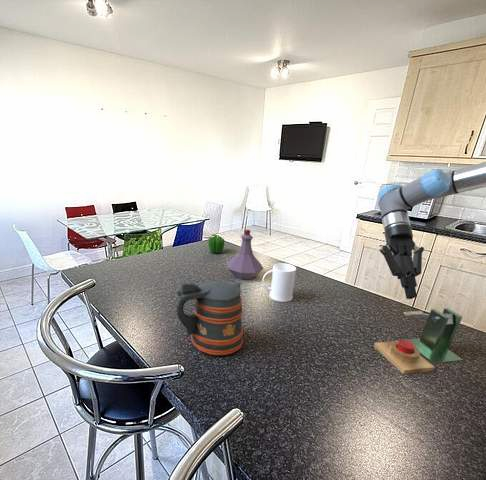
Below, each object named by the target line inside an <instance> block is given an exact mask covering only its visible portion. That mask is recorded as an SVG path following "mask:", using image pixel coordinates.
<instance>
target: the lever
mask: <svg viewBox="0 0 486 480" xmlns="http://www.w3.org/2000/svg"><path fill="white" fill-rule="evenodd" d="M441 313H442V314H444V313H443V312H441ZM429 314H430V313H424V312H423V311H422V310H415V311H402V312H401V317H403V318H409V317H417V318H422V319H424V318H425V319H428V317H429ZM444 315H445V316H447V317H449V319H448V322H447V324H453V315H452V314H444Z"/></svg>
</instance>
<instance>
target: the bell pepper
mask: <svg viewBox="0 0 486 480" xmlns="http://www.w3.org/2000/svg"><path fill="white" fill-rule="evenodd" d="M211 236H212V237H209V238H208V241H207V243H208V248H209V252H210V253H211V254H222V252H223V251H224V247H225V239H224V238H223V237H222V236H218V235H217V234H215V233H212V234H211Z"/></svg>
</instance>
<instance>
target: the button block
mask: <svg viewBox="0 0 486 480" xmlns="http://www.w3.org/2000/svg"><path fill="white" fill-rule="evenodd" d="M399 341H400V340H391V341H379V342H378V341H377V342H374V344H373V347H374V348H375V349H376V350H377V351H378V352H379V353H380V354H381V355H382V356H383V357H384V358H385V359H386V360H388V361H389V362H390V363H391V365H393V366H394V367H395V368H396V369H397V370H398V371H399V372H401V374H402V375H408V374H417V373H427V372H434V370H435V368H436V366H435V365H433V363H432V362H430V361H429V360H428V359H427V358H425V357H424V356H423V355H422V354H421V353H420V352H419V350H418V349H417V348H416V347H415V348H414V351H413V353H412V354H407V353H404V352H401V351H400V350H398V349H397V345H398V342H399Z"/></svg>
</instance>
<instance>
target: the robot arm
mask: <svg viewBox="0 0 486 480" xmlns="http://www.w3.org/2000/svg"><path fill="white" fill-rule="evenodd" d="M482 188H483V189H484V188H486V161H483V162H479V163H476V164H472V165H469V166H464V167H461V168H458V169H455V170H450V171H447V172H445V171H443V170H442V169H439V168H435V169H433V170H431V171H429V172H426V173H424V174H423V175H421V176H419V177H418V178H416V179H414V180H412V181H410V182H408V183H406V184H405V185H403V186H401V185H399V184H390V185H387V186H384V187H383V188H381V189H380V190H379V192H377V193H378V194H377V201H378V202H377V204H378V207H379V211H380V216H381V222H382V227H383V231H384V239H385V242H386V243H385V245H383V246H382V247H380V248H379V252H380V253H381V254H382V255H383V258H384V260H385V262H386V264H387V266H388V268H389V271H390V273H391V275H392V276H393V277H396V279H397V280H399V282H400V286H401V288H403V290H404V294H405V298H406V300H413V299H415V298H417V297H418V295H417V290H416V288H417V286H418V284H417V279H416V277H418V276H420V275H421V274H422V265H423V263H422V262H423V252H424V251H425V247H424V246H420V247H419V246H417V245H416V242H415V241H414V234H413V230H412V226H411V220H410V216H409V213H408V212H409V211H408V210H409V209H411V208H413V207H415V206H418V205H420V204H422V203H425V202H427V201H429V200H434V199H441V198H445V197H448V196H454V195H457V194H461V193H466V192H470V191H474V190H475V191H476V190H480V189H482Z"/></svg>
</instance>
